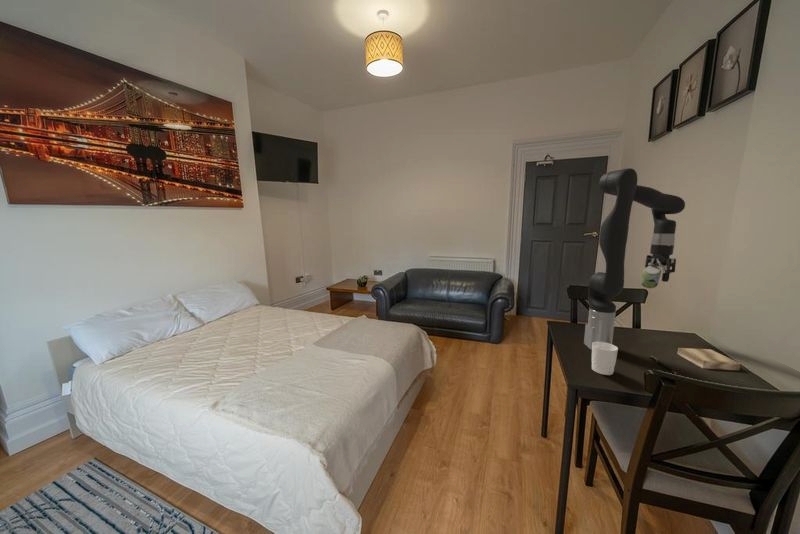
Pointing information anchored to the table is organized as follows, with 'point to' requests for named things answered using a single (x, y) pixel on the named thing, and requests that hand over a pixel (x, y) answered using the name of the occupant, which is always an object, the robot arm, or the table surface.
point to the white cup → (603, 357)
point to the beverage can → (651, 276)
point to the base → (708, 359)
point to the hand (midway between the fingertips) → (657, 279)
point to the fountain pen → (661, 364)
